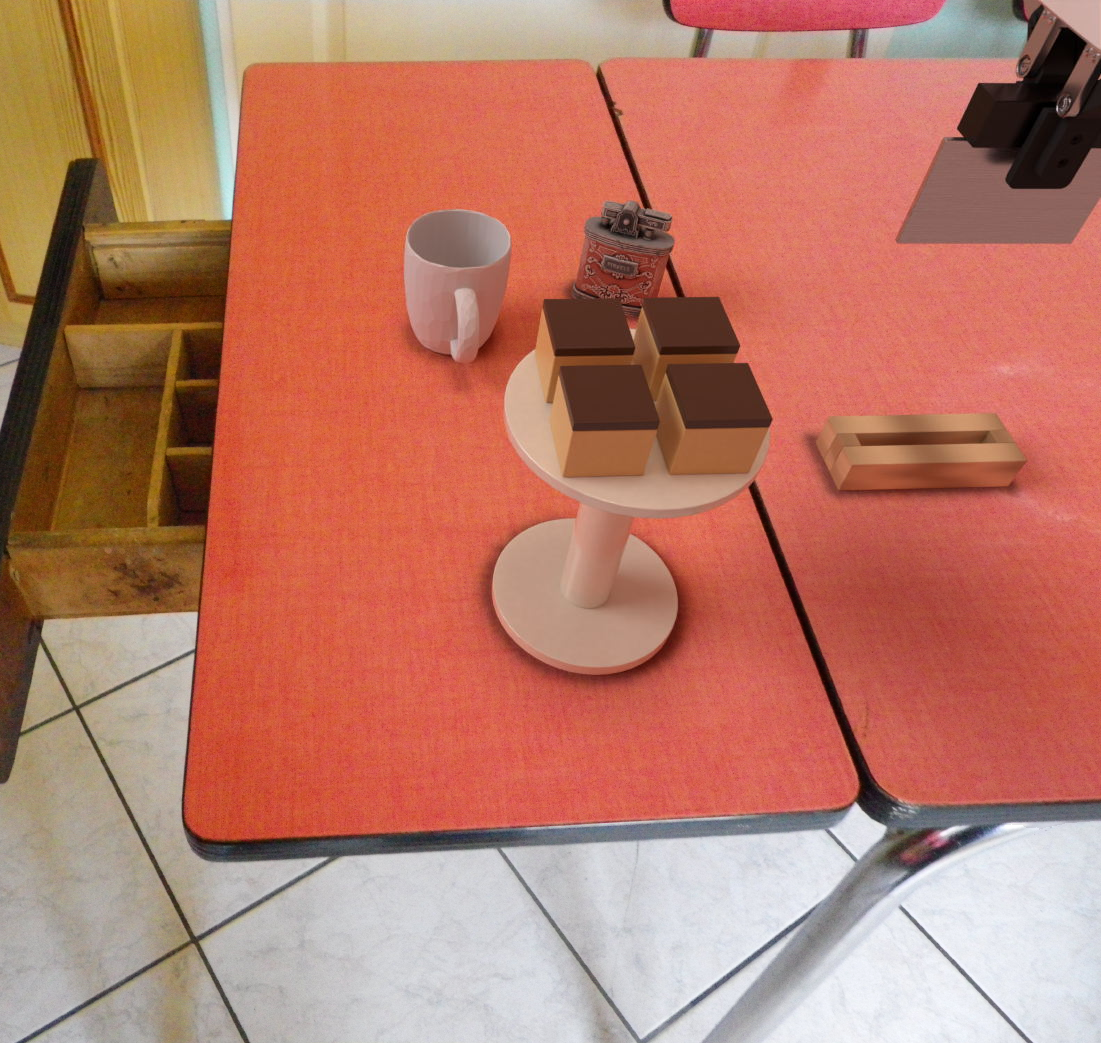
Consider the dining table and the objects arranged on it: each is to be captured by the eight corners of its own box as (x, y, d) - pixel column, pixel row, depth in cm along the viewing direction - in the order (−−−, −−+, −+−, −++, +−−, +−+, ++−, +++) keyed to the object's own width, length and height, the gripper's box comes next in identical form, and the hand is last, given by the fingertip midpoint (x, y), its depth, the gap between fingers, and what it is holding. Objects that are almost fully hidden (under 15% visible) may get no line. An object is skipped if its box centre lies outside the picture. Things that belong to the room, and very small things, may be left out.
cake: (700, 350, 58) (719, 296, 55) (749, 473, 51) (773, 419, 48) (534, 353, 57) (543, 298, 54) (562, 477, 51) (574, 423, 48)
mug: (397, 305, 89) (399, 209, 82) (491, 301, 90) (502, 205, 82) (412, 397, 81) (417, 300, 73) (516, 391, 82) (531, 295, 74)
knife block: (978, 439, 80) (996, 412, 77) (1008, 486, 76) (1027, 460, 74) (815, 442, 79) (828, 415, 77) (837, 490, 75) (852, 464, 73)
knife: (1061, 232, 54) (1152, 83, 48) (1078, 252, 53) (1175, 102, 46) (888, 231, 54) (958, 82, 47) (902, 252, 52) (975, 100, 46)
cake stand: (724, 581, 69) (811, 395, 55) (626, 729, 61) (699, 555, 47) (547, 487, 75) (586, 297, 61) (436, 611, 67) (452, 425, 53)
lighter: (567, 300, 90) (585, 205, 83) (577, 280, 92) (595, 186, 85) (651, 322, 89) (677, 227, 81) (659, 302, 91) (685, 207, 83)
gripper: (1537, -229, 31) (1177, 259, 45) (1238, -318, 41) (1020, 101, 55) (1317, -234, 31) (1022, 259, 45) (1071, -322, 41) (894, 100, 55)
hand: (1023, 169), depth 50 cm, fingers closed on knife, 2 cm apart
